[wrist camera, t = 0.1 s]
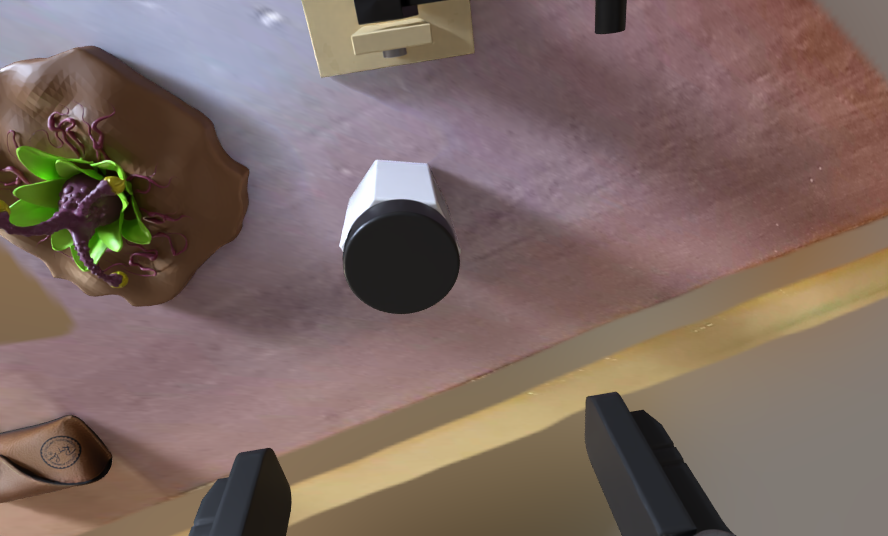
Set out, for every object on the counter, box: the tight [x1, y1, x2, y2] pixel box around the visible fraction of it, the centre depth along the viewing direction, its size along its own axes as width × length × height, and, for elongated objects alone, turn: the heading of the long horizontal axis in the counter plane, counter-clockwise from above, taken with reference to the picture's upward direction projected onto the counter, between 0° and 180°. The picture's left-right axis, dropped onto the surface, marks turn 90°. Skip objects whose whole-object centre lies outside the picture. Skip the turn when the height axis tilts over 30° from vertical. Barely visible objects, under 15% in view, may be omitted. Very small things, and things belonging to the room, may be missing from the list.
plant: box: [0, 46, 249, 306], centre depth 35 cm, size 20×20×11 cm
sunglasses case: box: [0, 415, 112, 503], centre depth 52 cm, size 18×7×7 cm
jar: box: [340, 160, 461, 314], centre depth 38 cm, size 9×8×12 cm
